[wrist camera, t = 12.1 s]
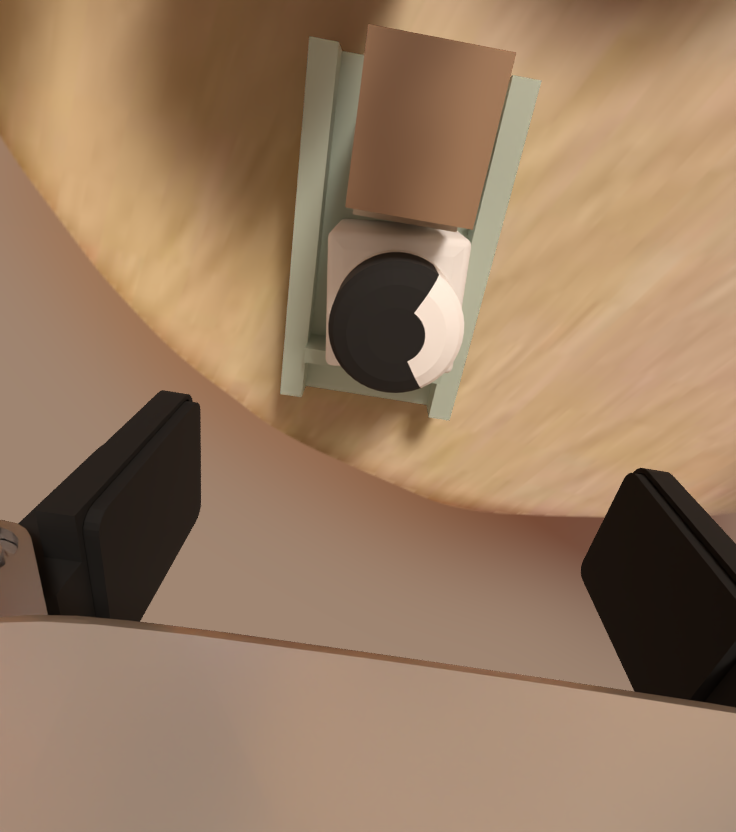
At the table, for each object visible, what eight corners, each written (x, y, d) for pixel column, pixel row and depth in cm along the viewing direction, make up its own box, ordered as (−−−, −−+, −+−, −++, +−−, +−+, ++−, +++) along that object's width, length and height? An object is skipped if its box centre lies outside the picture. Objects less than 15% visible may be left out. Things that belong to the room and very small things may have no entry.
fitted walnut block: (463, 100, 26) (516, 52, 16) (438, 215, 29) (470, 240, 19) (375, 84, 26) (368, 23, 16) (358, 201, 29) (343, 218, 18)
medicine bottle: (336, 329, 33) (312, 405, 22) (339, 217, 29) (314, 243, 19) (439, 336, 33) (466, 415, 22) (454, 225, 29) (494, 255, 19)
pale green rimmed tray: (521, 92, 28) (547, 77, 23) (443, 396, 37) (451, 427, 33) (319, 53, 27) (306, 30, 23) (290, 372, 36) (277, 399, 32)
